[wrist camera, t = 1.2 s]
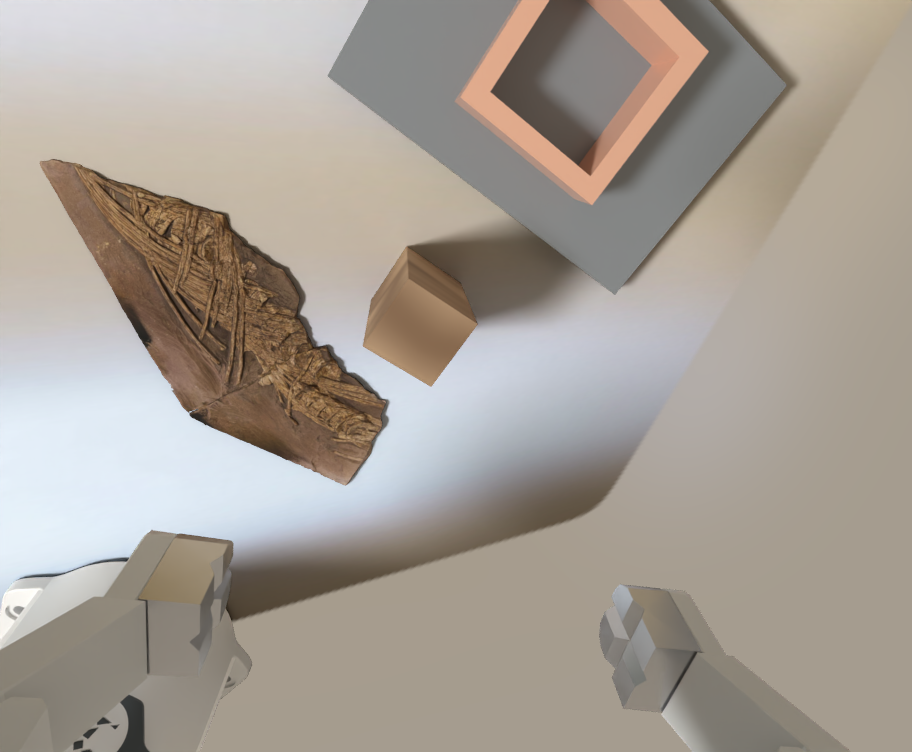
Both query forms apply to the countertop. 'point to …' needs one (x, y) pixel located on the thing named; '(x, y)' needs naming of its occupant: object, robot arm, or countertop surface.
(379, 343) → the brown wooden block
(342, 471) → the wooden fragment
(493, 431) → the countertop surface
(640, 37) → the stand
